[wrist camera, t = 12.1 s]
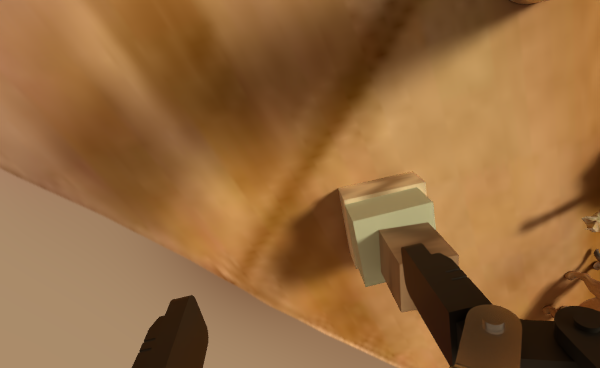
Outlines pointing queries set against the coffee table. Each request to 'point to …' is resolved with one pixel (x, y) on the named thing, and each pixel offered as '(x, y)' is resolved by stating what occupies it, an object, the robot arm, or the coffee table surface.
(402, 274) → the walnut block
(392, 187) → the block
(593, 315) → the robot arm
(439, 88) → the coffee table surface
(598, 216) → the pine cone
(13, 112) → the coffee table surface
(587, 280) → the lion figurine
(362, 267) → the tower top
